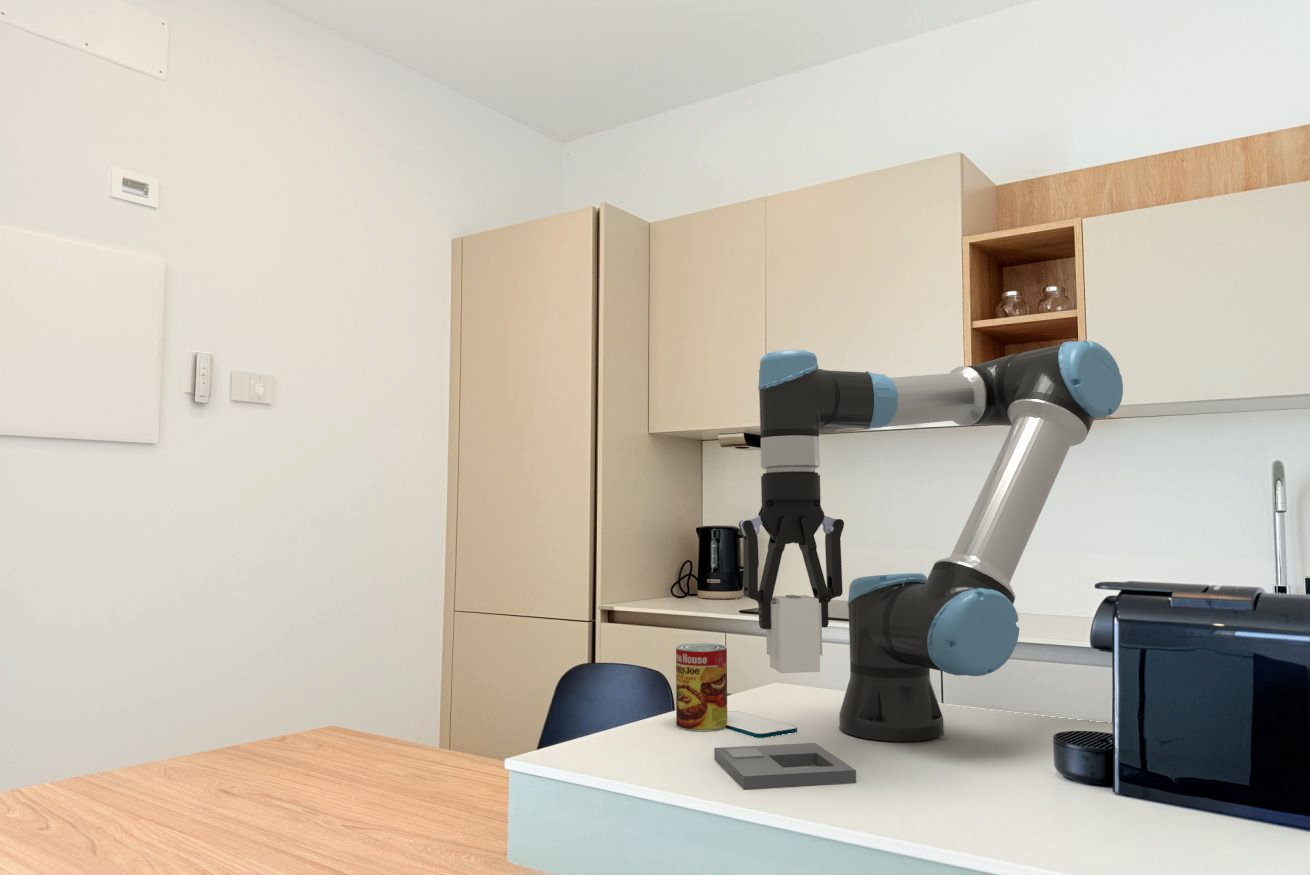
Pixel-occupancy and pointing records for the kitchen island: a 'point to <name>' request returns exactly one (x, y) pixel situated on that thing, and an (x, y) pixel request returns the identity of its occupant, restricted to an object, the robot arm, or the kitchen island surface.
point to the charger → (797, 634)
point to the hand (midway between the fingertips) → (794, 654)
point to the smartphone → (756, 725)
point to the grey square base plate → (767, 762)
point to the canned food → (701, 687)
